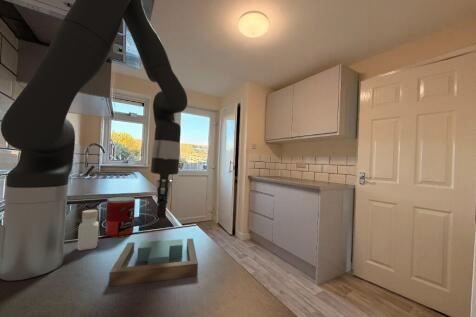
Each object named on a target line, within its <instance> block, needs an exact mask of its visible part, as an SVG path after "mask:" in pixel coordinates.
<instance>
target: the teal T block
mask: <svg viewBox="0 0 476 317" xmlns="http://www.w3.org/2000/svg"><path fill="white" fill-rule="evenodd" d="M183 244H184V243H183V239H167V240H154V241H153V240H151V241H150V240H149V241H140V243H139V245H138V248H137V259H136V261H137V262H145V261H146V262H147V265H153V264H163V263H170V259H180V258H183Z"/></svg>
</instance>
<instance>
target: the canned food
mask: <svg viewBox="0 0 476 317" xmlns="http://www.w3.org/2000/svg"><path fill="white" fill-rule="evenodd" d="M135 209H136V198H135V197H133V196H132V197H131V196H130V197H129V196H117V197H116V196H114V197H110V198H107V201H106V214H105V216H106V217H105V236H106V237H108V236H112V237H117V238H122V237H121V236H124V237H127V236H126V235H128V236H130V235H131V233H132V234H133V232H134V228H135V212H136V211H135ZM129 234H130V235H129ZM112 237H111V238H112Z"/></svg>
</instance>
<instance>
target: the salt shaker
mask: <svg viewBox="0 0 476 317" xmlns="http://www.w3.org/2000/svg"><path fill="white" fill-rule="evenodd" d="M81 215H82V216H81V219H82V221H81V223H80V224H79V225H78V233H77V247H76V249H77V250H78V251H87V250H92V249H93V250H94V249H95V248H97V245H98V243H99V242H98V241H99V226H100V222H99V221H98V220H97V218H98V210H97V209H87V210H83V211H82V212H81Z"/></svg>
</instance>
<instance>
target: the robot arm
mask: <svg viewBox="0 0 476 317" xmlns="http://www.w3.org/2000/svg"><path fill="white" fill-rule="evenodd" d="M142 1H143V0H75V1H73V4H72V5H71V7H70V8H69V10H68V12H67V13H66V15H65V17H64V18H63V19H62V21H61V23H60V25H59V27H58V28H57V31H56V32H55V35H54V37H53V38H52V41H51V42H50V44H49V47H48V48H47V50H46V52H45V53H44V55H43V57H42V58H41V60H40V63H39V64H38V66H37V68H36V70H35V71H34V74H33V75H32V77H31V78H30V80H29V81H28V82H27V84H26V86H24V88H23V89H22V91H21V92H20V93H19V94H18V96H17V97H16V98H15V100H14V101H13V102H12V104H11V105H10V106H9V108H8V109H7V111H6V112H5V113H4V116H3V117H2V120H1V123H0V132H1V136H2V138H3V139H4V141H5V142H6V143H7V144H8V145H9V146H11V147H12V148H14V149H17V150H19V151H20V155H19V159H18V160H19V161H18V163H17V164H16V165H15V167H13V168H12V169H11V170H10V171H8V173H7V175H6V180H5V181H6V182H5V197H4V212H3V224H1V225H0V280H3V281H11V282H12V281H22V280H26V279H32V278H35V277H39V276H42V275H45V274H47V273H50V272H52V271H54V270H56V269H58V268H59V267H61V265H62V264H63V263H64V254H65V252H64V249H65V236H66V221H67V220H66V219H67V217H66V216H67V203H68V189H69V188H68V187H69V177H70V174H71V173H72V170H73V164H74V155H75V144H76V143H75V142H76V131H75V129H74V128H75V127H74V126H73V124H72V123H71V121H70V120H69V119H67V116H68V113H69V111H70V108H71V106H72V104H73V102H74V100H75V98H76V97H77V95H78V93H79V92H80V91H81V90H82V89H83V88H84V87H85V86H86V85H87V84H88V83H90V82H91V81H92V80H93V79H94V78H95V77H96V76H97V75H98V74H99V73H100V72H101V70H103V67H104V65H105V64H106V62H107V60H108V58H109V56H110V54H111V51H112V49H113V47H114V44H115V41H116V40H117V37H118V34H119V31H120V28H121V24H122V21H123V22H124V23H125V25H126V27H127V29H128V32H129V34H130V36H131V38H132V40H133V43H134V45H135V48H136V50H137V52H138V55H139V59H140V60H141V63H142V66H143V68H144V71H145V74H146V76H147V78H148V80H149V81H151V82H152V83H157V85H158V87H159V89H160V91H159V92H157V93H156V94H155V96H154V97H153V98H154V99H153V101H152V112H153V119H154V124H155V129H154V139H153V140H154V141H153V145H152V154H151V165H150V172H151V174H154V175H155V174H156V175H159V179H156V183H155V187H156V198H157V200H156V204H157V214H156V218H157V219H165V218H166V212H167V204H168V200H169V199H168V198H169V197H170V191H171V187H172V180H170V179H169V177H170V176H171V175H173V176H174V175H178V174H179V167H180V156H181V155H180V154H181V147H180V146H181V144H180V142H181V141H180V140H181V131H182V130H181V125H180V124H179V123H178V122H176V121H175V114H178V113H182V112H183V111H185V110H186V108H187V106H188V96H187V93H186V91H185V89H184V86H183V85H182V83H181V82H180V80H179V78H178V77H177V76H176V74H175V72H174V70H173V68H172V65H171V63H170V62H171V61H170V59H169V57H168V54H167V51H166V48H165V45H164V44H163V42H162V40H161V39H160V37H159V34H158V33H157V32H156V31H155V29H154V28H153V26H152V25H151V23H150V21H149V19H148V17H147V13H146V12H145V8H144V5H143V2H142Z"/></svg>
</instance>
